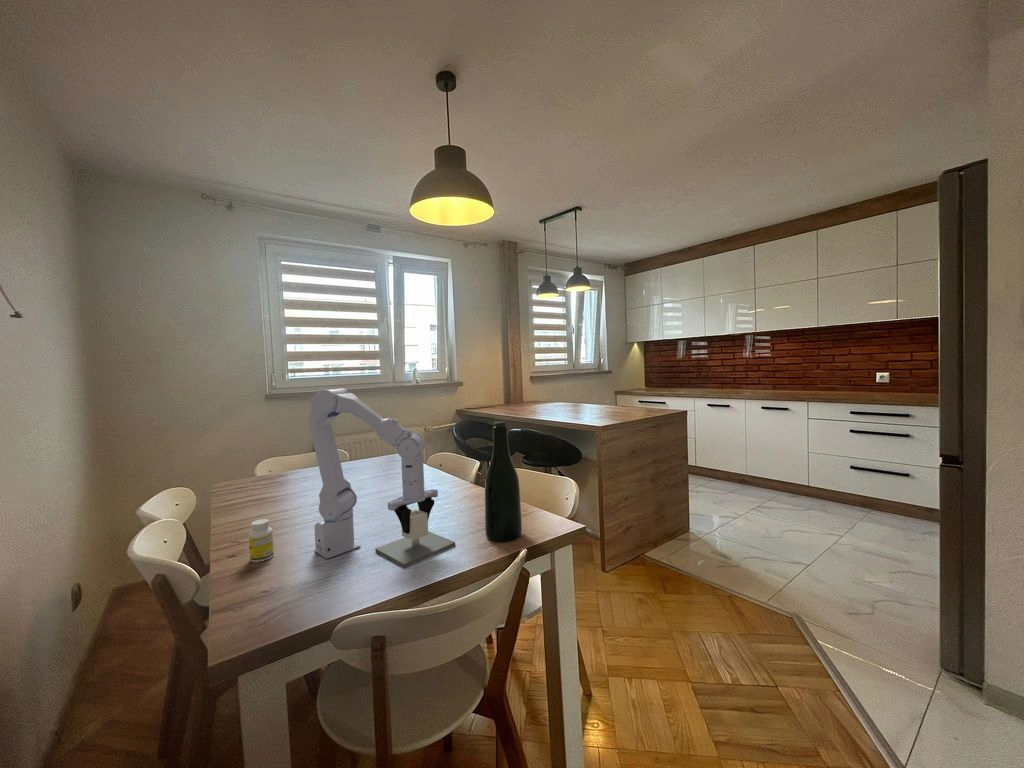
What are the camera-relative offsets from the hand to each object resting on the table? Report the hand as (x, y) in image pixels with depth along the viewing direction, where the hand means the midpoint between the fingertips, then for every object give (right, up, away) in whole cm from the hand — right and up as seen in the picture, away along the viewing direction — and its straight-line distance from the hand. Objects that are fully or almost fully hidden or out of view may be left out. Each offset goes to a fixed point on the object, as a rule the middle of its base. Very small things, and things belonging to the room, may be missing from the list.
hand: (415, 529), depth 109 cm
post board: (0, -5, 0) cm, 5 cm away
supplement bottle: (-40, -7, -2) cm, 41 cm away
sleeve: (0, -2, 0) cm, 2 cm away
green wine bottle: (+24, -5, +7) cm, 25 cm away
